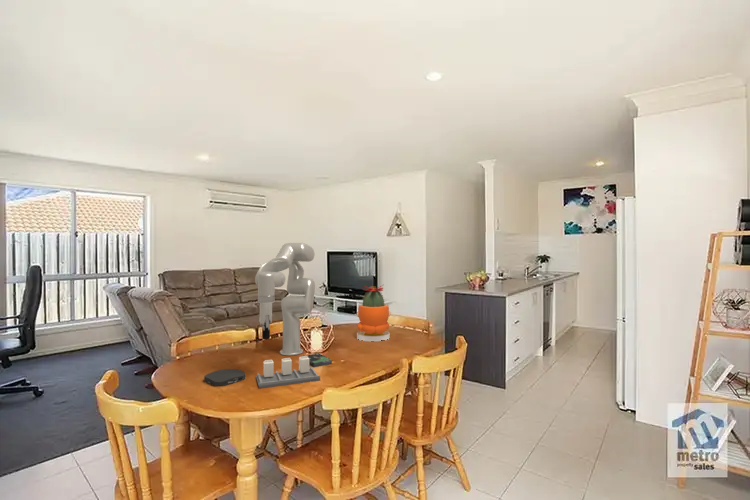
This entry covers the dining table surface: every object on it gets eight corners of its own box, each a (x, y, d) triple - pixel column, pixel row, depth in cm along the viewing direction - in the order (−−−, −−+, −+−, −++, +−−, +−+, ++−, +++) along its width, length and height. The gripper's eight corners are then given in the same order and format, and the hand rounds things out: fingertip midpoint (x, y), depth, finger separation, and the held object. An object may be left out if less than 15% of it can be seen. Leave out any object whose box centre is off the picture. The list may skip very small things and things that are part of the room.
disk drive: (300, 361, 196) (313, 368, 184) (300, 356, 196) (313, 362, 184) (318, 358, 202) (332, 364, 190) (318, 352, 202) (332, 359, 190)
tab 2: (281, 372, 172) (281, 357, 172) (290, 371, 174) (290, 356, 174) (282, 375, 169) (282, 360, 168) (291, 374, 170) (291, 359, 170)
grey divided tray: (256, 377, 169) (256, 373, 169) (312, 370, 179) (312, 366, 179) (259, 388, 156) (259, 383, 156) (320, 380, 166) (320, 375, 166)
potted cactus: (355, 335, 252) (356, 283, 252) (388, 334, 254) (389, 283, 254) (357, 343, 230) (358, 286, 230) (393, 342, 233) (394, 286, 233)
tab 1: (263, 374, 169) (263, 359, 169) (272, 373, 171) (272, 358, 171) (264, 377, 165) (264, 362, 165) (273, 376, 167) (273, 361, 167)
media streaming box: (231, 372, 177) (231, 366, 177) (248, 379, 168) (248, 372, 168) (200, 380, 166) (200, 374, 166) (217, 388, 157) (217, 381, 157)
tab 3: (298, 370, 175) (298, 355, 175) (307, 369, 177) (307, 354, 177) (300, 372, 172) (300, 358, 172) (309, 371, 173) (309, 357, 173)
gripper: (256, 297, 182) (256, 335, 181) (259, 301, 168) (259, 342, 168) (272, 297, 184) (272, 334, 184) (276, 300, 171) (276, 341, 171)
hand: (266, 338), depth 176 cm, fingers closed
